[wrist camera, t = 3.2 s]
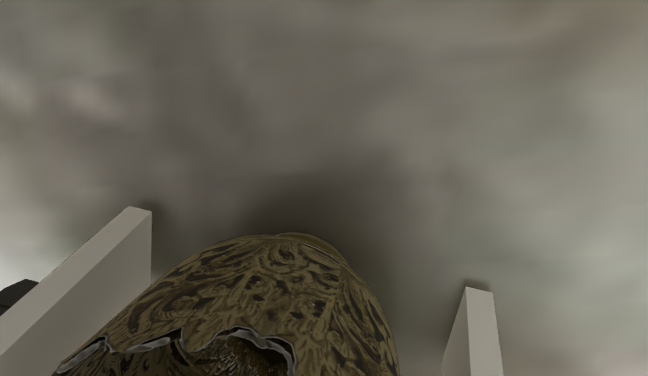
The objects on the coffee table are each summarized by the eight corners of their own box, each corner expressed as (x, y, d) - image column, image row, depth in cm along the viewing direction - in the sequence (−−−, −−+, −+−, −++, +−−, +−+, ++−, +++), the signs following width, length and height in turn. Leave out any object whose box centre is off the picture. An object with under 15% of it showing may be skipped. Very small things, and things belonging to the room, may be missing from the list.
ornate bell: (470, 228, 16) (491, 479, 8) (368, 403, 19) (321, 690, 12) (222, 122, 16) (36, 281, 9) (164, 313, 19) (-5, 544, 12)
